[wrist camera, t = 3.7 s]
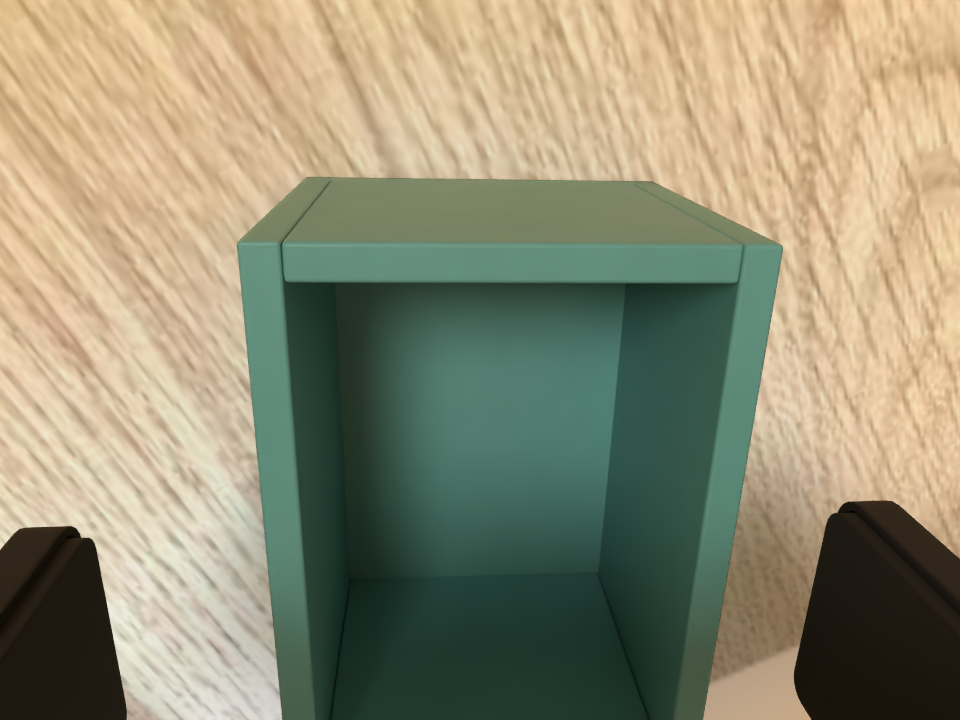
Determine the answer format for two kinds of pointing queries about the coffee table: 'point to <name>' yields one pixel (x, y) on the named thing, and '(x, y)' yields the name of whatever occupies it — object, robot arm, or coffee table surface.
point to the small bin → (500, 443)
